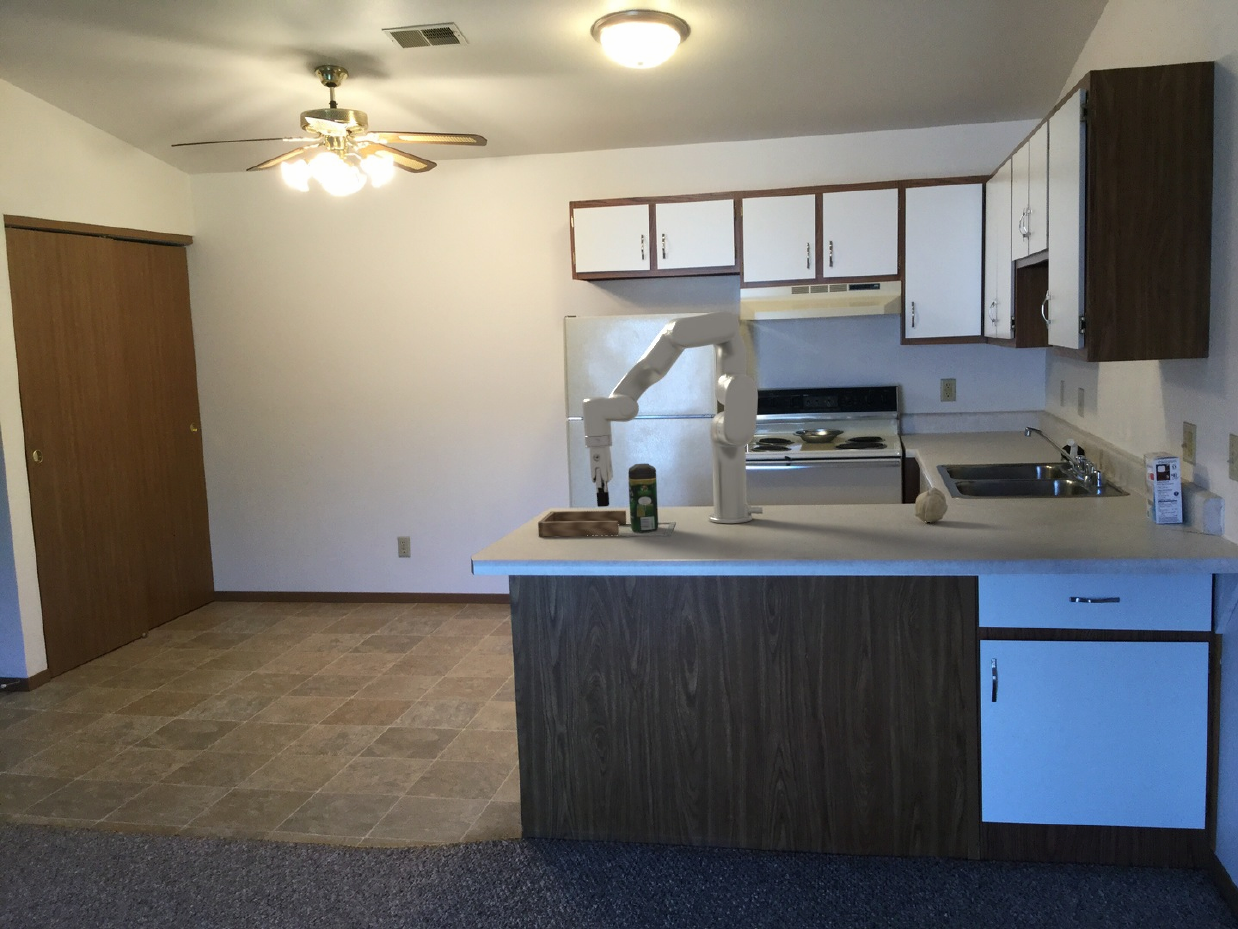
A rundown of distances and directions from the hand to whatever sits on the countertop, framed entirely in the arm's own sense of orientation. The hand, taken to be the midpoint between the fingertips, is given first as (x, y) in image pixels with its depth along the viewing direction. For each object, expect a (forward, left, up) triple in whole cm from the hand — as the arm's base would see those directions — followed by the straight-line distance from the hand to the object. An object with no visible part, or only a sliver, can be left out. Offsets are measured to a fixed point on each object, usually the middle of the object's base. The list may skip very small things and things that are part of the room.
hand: (603, 505), depth 274 cm
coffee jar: (-11, 0, -7) cm, 13 cm away
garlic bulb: (-90, -5, -7) cm, 91 cm away
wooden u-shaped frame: (+6, 0, -7) cm, 9 cm away
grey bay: (-12, 0, -7) cm, 14 cm away
